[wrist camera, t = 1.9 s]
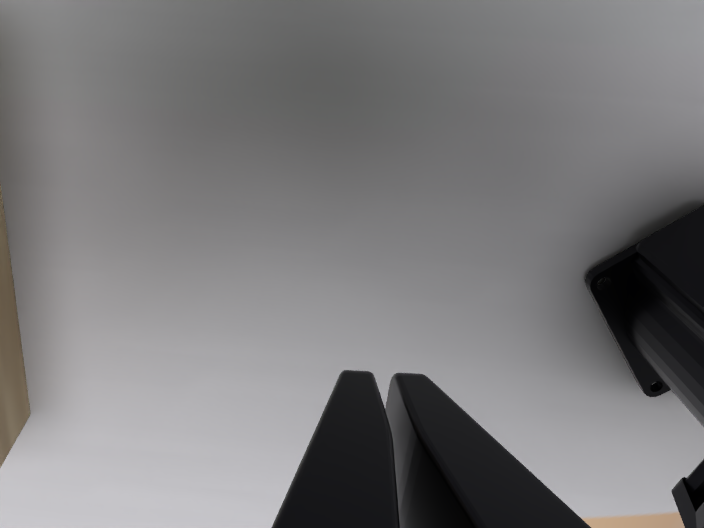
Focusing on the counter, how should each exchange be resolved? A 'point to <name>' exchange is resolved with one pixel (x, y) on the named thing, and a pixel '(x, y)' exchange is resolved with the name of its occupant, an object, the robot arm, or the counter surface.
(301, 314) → the counter surface
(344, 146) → the counter surface
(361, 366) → the counter surface
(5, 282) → the oak plank
